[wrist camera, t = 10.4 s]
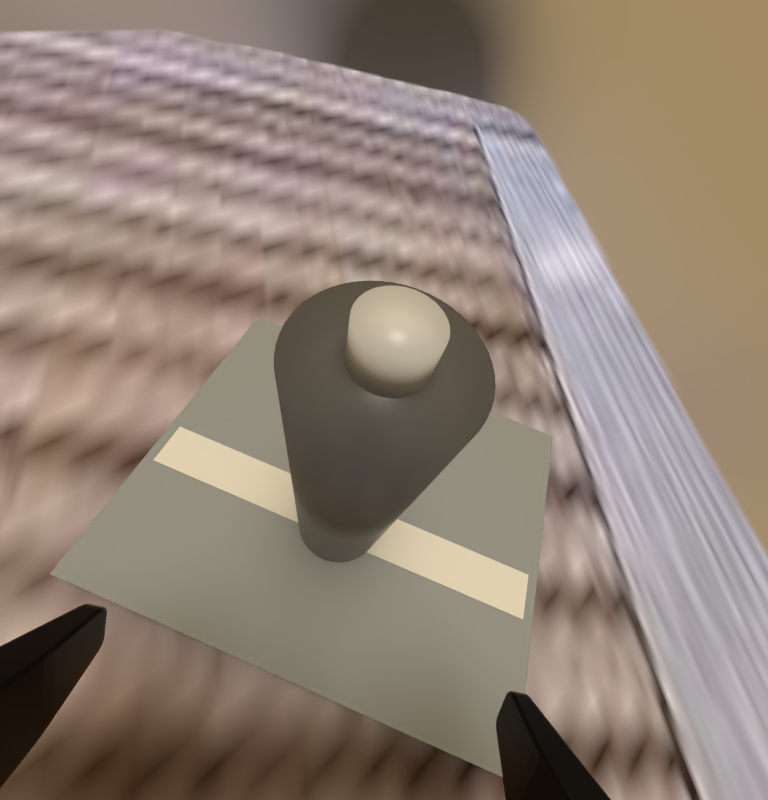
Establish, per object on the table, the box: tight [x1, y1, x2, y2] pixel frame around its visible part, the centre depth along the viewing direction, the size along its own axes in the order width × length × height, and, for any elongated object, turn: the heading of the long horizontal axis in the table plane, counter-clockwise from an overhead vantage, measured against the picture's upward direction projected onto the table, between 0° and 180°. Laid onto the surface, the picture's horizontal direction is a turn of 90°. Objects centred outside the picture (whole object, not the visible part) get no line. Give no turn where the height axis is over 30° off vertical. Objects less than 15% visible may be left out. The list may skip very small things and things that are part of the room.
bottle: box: [274, 281, 495, 562], centre depth 12 cm, size 4×4×14 cm
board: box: [50, 317, 553, 777], centre depth 19 cm, size 16×20×2 cm
